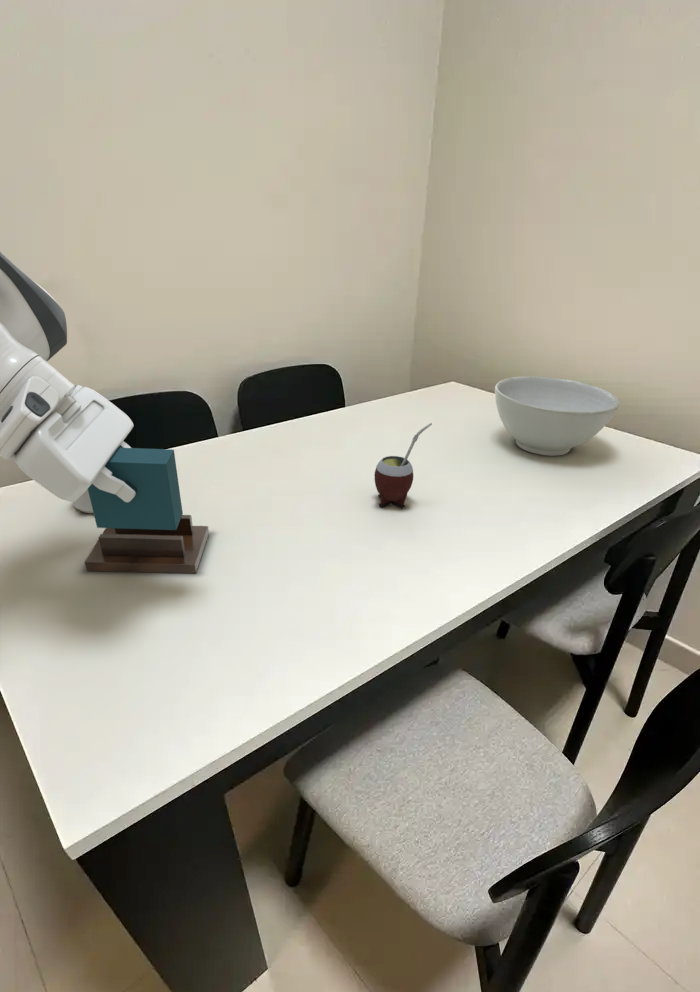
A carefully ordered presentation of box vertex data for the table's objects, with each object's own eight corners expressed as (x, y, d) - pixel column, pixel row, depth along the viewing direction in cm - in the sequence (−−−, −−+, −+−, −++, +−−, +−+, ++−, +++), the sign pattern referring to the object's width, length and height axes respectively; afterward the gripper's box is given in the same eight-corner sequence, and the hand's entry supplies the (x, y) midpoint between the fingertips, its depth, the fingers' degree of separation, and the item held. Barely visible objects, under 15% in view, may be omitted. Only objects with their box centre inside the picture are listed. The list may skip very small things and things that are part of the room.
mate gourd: (364, 501, 108) (370, 420, 99) (392, 489, 113) (400, 411, 104) (394, 515, 104) (403, 432, 95) (422, 502, 109) (433, 423, 100)
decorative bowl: (477, 423, 147) (487, 372, 139) (583, 429, 147) (598, 379, 139) (494, 464, 125) (506, 407, 118) (618, 472, 125) (638, 416, 118)
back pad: (97, 527, 74) (80, 460, 69) (107, 511, 78) (92, 446, 72) (176, 530, 75) (166, 463, 69) (182, 513, 78) (173, 449, 73)
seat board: (86, 570, 86) (79, 544, 83) (110, 531, 95) (104, 506, 92) (196, 573, 86) (192, 547, 84) (209, 534, 96) (206, 509, 93)
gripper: (56, 395, 76) (144, 468, 83) (-16, 457, 60) (100, 541, 67) (83, 361, 74) (172, 439, 80) (15, 415, 58) (133, 508, 64)
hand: (139, 486), depth 73 cm, fingers closed on back pad, 4 cm apart
